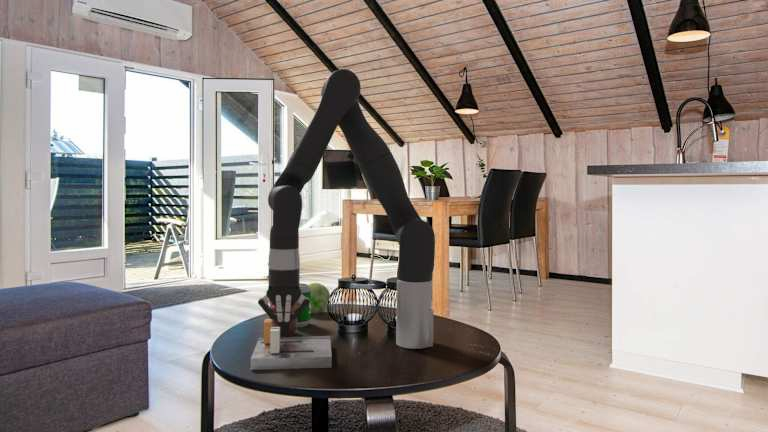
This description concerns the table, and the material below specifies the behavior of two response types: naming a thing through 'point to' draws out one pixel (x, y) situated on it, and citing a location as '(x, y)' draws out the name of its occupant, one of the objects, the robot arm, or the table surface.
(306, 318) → the soda can
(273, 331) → the fader cream
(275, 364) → the console
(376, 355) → the table surface
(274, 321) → the mug
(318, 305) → the decorative ball
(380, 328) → the table surface
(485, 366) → the table surface
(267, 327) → the fader orange
